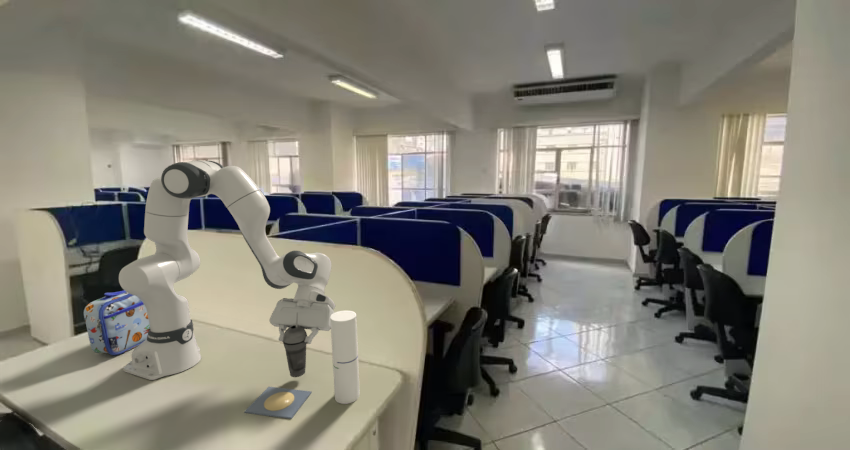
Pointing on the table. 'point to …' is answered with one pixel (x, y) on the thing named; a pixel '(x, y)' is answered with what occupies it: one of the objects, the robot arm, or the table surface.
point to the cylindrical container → (345, 356)
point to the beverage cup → (295, 349)
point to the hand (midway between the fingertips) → (294, 342)
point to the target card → (278, 402)
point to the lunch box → (116, 323)
